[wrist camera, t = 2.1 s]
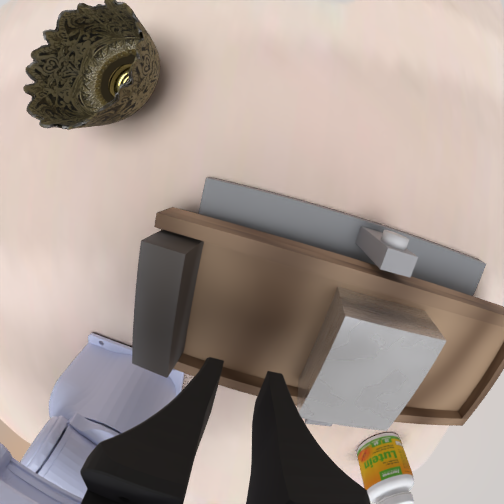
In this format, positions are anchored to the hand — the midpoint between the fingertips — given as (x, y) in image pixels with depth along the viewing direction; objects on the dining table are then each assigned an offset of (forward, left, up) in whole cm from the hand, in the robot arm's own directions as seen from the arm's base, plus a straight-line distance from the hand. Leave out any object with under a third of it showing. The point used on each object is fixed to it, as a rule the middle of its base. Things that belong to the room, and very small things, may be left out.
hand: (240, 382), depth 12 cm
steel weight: (+7, 0, -5) cm, 9 cm away
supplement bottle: (+19, -17, -11) cm, 28 cm away
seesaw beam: (+7, 0, -6) cm, 9 cm away
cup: (-12, +12, -11) cm, 20 cm away
